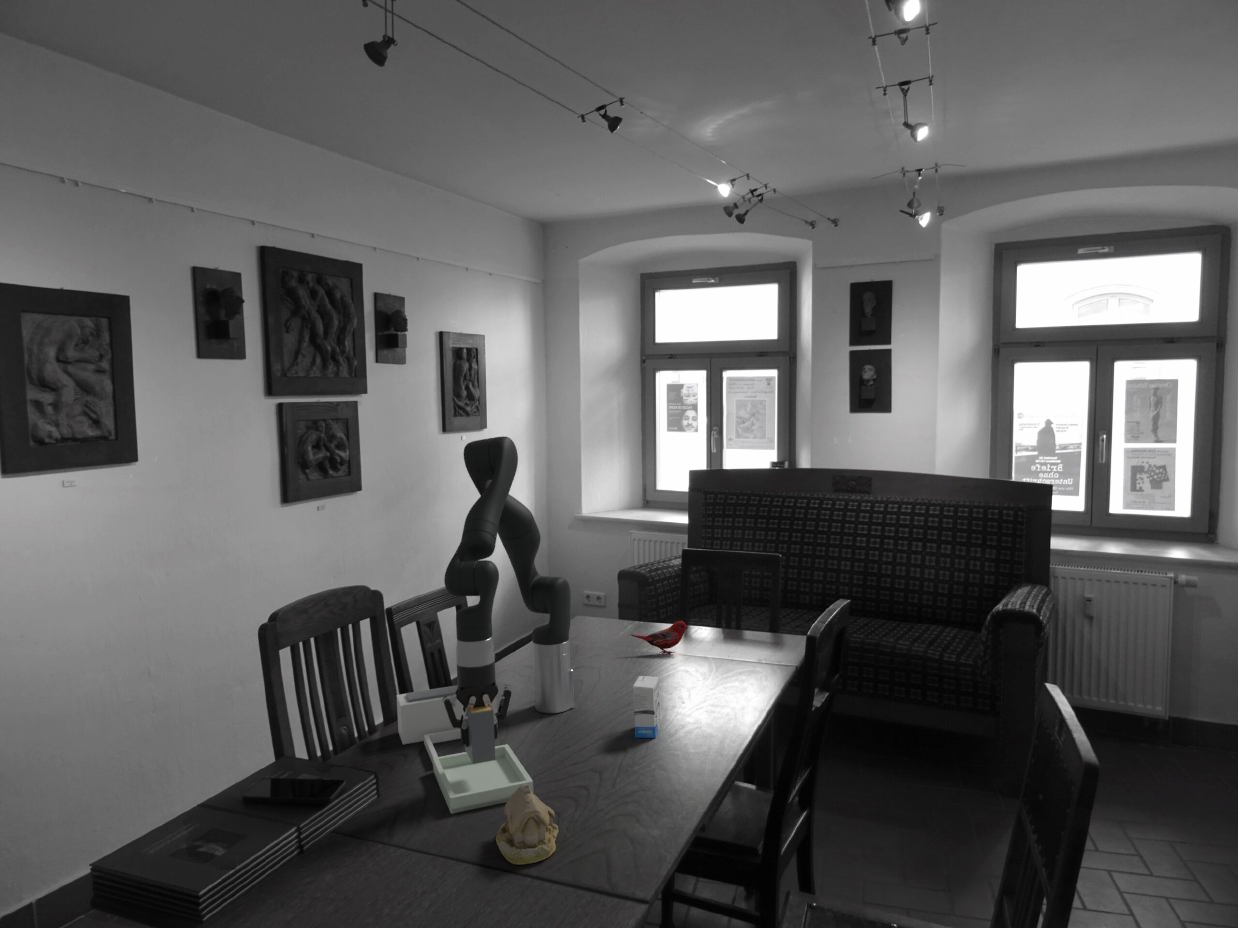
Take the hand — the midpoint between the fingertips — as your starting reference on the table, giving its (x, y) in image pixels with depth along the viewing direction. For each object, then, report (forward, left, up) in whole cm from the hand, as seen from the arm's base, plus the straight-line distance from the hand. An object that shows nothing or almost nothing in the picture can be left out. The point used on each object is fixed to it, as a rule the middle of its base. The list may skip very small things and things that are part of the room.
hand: (479, 742), depth 166 cm
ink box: (-41, -10, -9) cm, 43 cm away
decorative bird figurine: (-69, -64, -9) cm, 95 cm away
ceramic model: (-3, +26, -9) cm, 28 cm away
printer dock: (+1, -24, -8) cm, 25 cm away
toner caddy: (0, 0, -2) cm, 2 cm away
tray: (0, 0, -8) cm, 8 cm away
